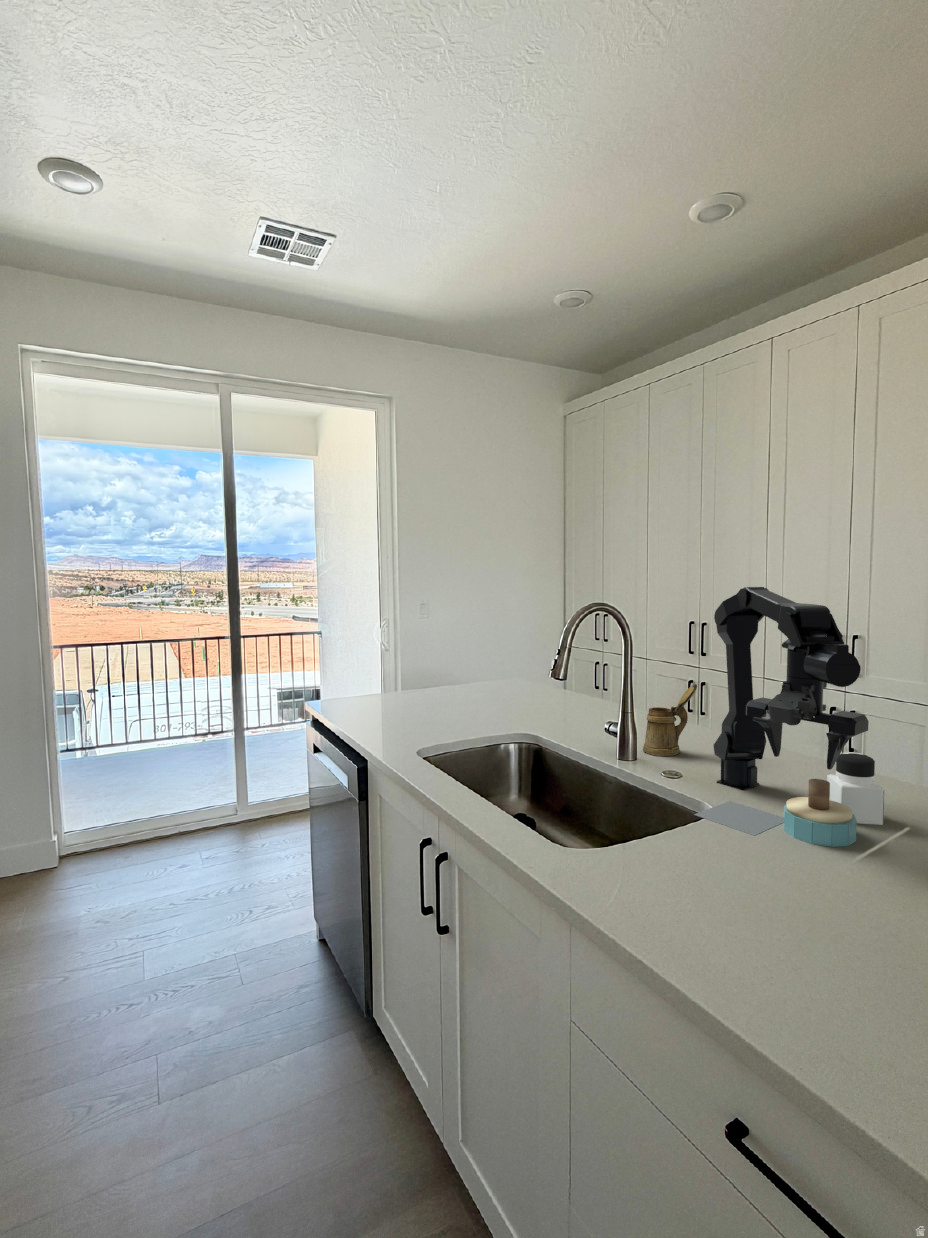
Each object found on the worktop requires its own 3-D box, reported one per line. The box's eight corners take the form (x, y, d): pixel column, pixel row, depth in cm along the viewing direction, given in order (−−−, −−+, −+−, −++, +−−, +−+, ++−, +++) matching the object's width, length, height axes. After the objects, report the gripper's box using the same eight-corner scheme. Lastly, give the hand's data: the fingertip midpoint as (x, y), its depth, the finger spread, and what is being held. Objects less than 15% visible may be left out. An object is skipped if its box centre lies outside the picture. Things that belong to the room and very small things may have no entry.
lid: (775, 810, 108) (775, 780, 108) (803, 798, 114) (803, 769, 114) (836, 829, 100) (836, 796, 100) (862, 814, 106) (863, 783, 105)
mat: (693, 816, 116) (693, 814, 116) (730, 802, 123) (730, 800, 123) (754, 837, 106) (754, 835, 106) (790, 821, 113) (790, 819, 113)
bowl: (771, 832, 109) (772, 810, 108) (802, 818, 115) (803, 797, 114) (836, 854, 100) (837, 830, 99) (866, 837, 106) (867, 814, 106)
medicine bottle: (884, 827, 110) (885, 761, 109) (840, 824, 112) (841, 759, 111) (866, 812, 117) (868, 750, 116) (825, 810, 119) (827, 749, 118)
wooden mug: (700, 757, 154) (700, 687, 153) (644, 755, 156) (644, 686, 155) (693, 748, 163) (694, 681, 162) (641, 746, 165) (641, 680, 164)
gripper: (729, 674, 111) (728, 758, 112) (840, 690, 96) (837, 787, 97) (762, 668, 117) (760, 747, 119) (871, 681, 102) (868, 772, 103)
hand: (802, 762), depth 109 cm, fingers open, 9 cm apart
